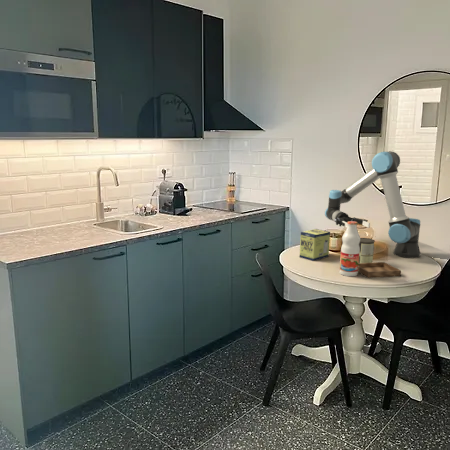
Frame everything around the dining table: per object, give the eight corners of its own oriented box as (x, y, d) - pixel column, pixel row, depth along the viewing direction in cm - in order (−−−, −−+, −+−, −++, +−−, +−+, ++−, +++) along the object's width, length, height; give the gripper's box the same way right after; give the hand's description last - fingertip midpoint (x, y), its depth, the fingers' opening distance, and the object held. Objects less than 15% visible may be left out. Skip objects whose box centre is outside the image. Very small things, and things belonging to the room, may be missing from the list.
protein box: (298, 257, 268) (300, 231, 265) (314, 253, 278) (316, 228, 275) (313, 261, 261) (314, 235, 257) (329, 256, 271) (330, 231, 268)
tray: (383, 267, 251) (384, 261, 251) (400, 276, 236) (401, 270, 236) (352, 268, 247) (352, 263, 247) (367, 278, 232) (368, 272, 231)
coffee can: (350, 263, 257) (352, 239, 254) (358, 260, 264) (360, 236, 262) (368, 267, 250) (370, 242, 247) (375, 263, 258) (377, 239, 255)
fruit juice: (357, 272, 242) (361, 220, 236) (357, 277, 233) (362, 224, 227) (339, 270, 244) (343, 219, 238) (339, 275, 235) (342, 222, 229)
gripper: (357, 223, 285) (377, 231, 265) (321, 223, 279) (338, 232, 259) (359, 211, 284) (378, 219, 264) (323, 212, 277) (339, 219, 257)
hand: (358, 225), depth 261 cm, fingers open, 13 cm apart
